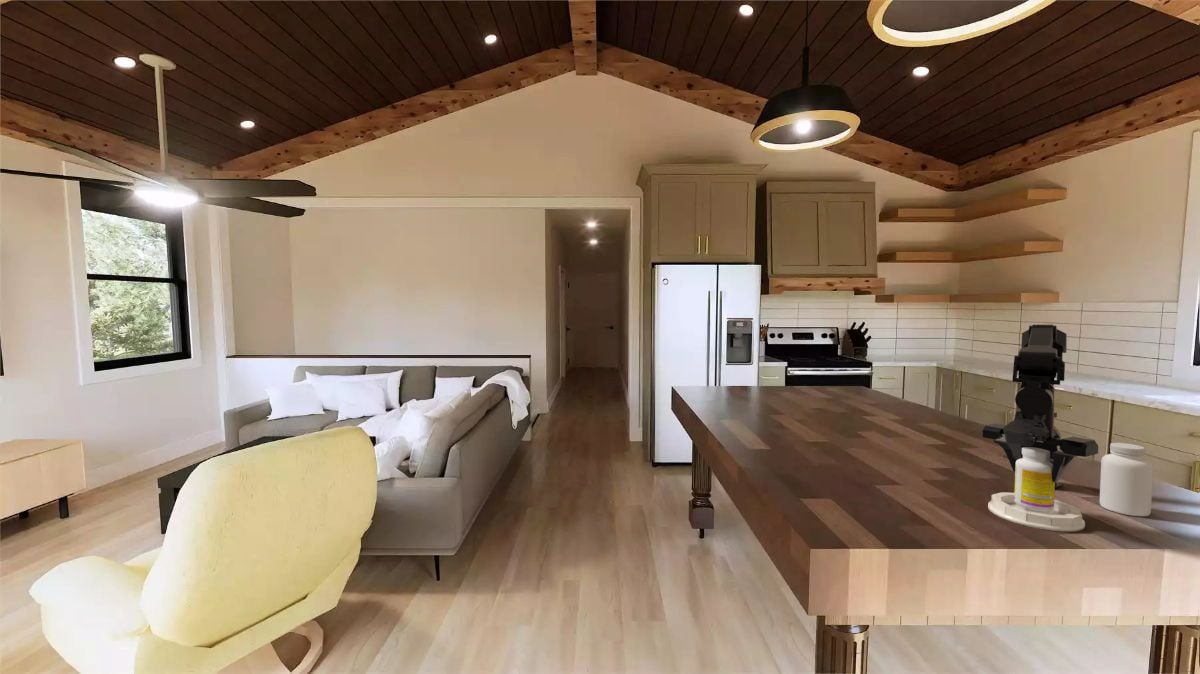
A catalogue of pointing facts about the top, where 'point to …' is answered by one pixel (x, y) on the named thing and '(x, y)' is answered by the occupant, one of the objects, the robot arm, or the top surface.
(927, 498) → the top surface
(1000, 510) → the tray
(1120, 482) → the pill bottle
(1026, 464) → the supplement bottle
